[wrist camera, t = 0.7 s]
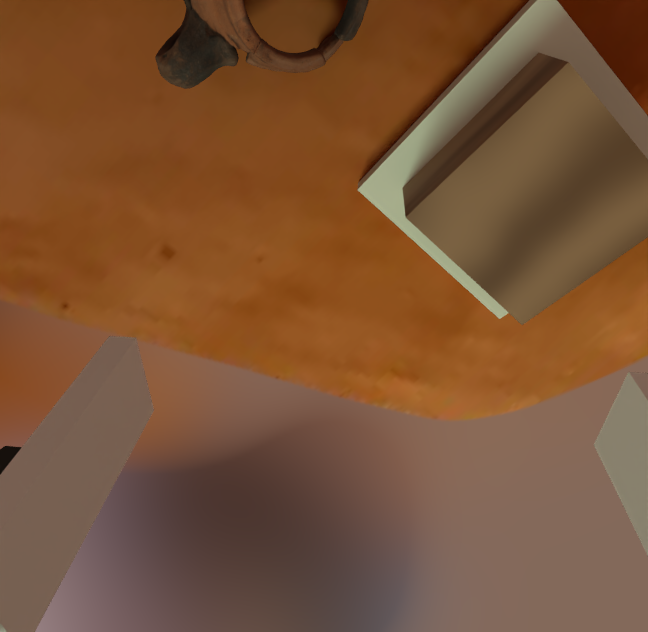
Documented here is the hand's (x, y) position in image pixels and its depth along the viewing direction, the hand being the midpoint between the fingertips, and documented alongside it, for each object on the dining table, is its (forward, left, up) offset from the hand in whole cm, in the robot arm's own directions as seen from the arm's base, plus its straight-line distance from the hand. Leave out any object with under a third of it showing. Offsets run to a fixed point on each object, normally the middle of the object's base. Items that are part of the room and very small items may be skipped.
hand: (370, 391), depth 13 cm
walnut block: (+7, +6, -20) cm, 22 cm away
